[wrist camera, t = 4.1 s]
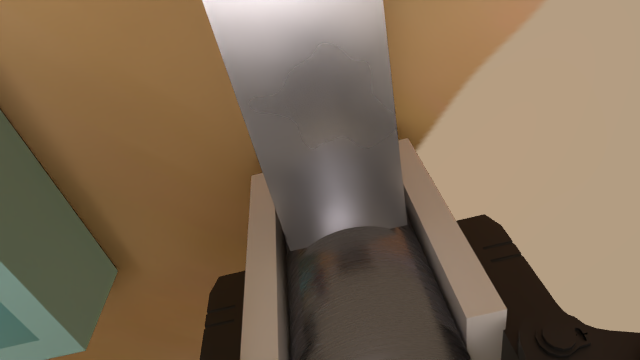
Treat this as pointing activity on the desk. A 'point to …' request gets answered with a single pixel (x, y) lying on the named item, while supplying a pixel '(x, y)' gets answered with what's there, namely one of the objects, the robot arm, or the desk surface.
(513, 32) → the desk surface
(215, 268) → the desk surface
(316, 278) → the grey t-shaped piece
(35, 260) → the tray
